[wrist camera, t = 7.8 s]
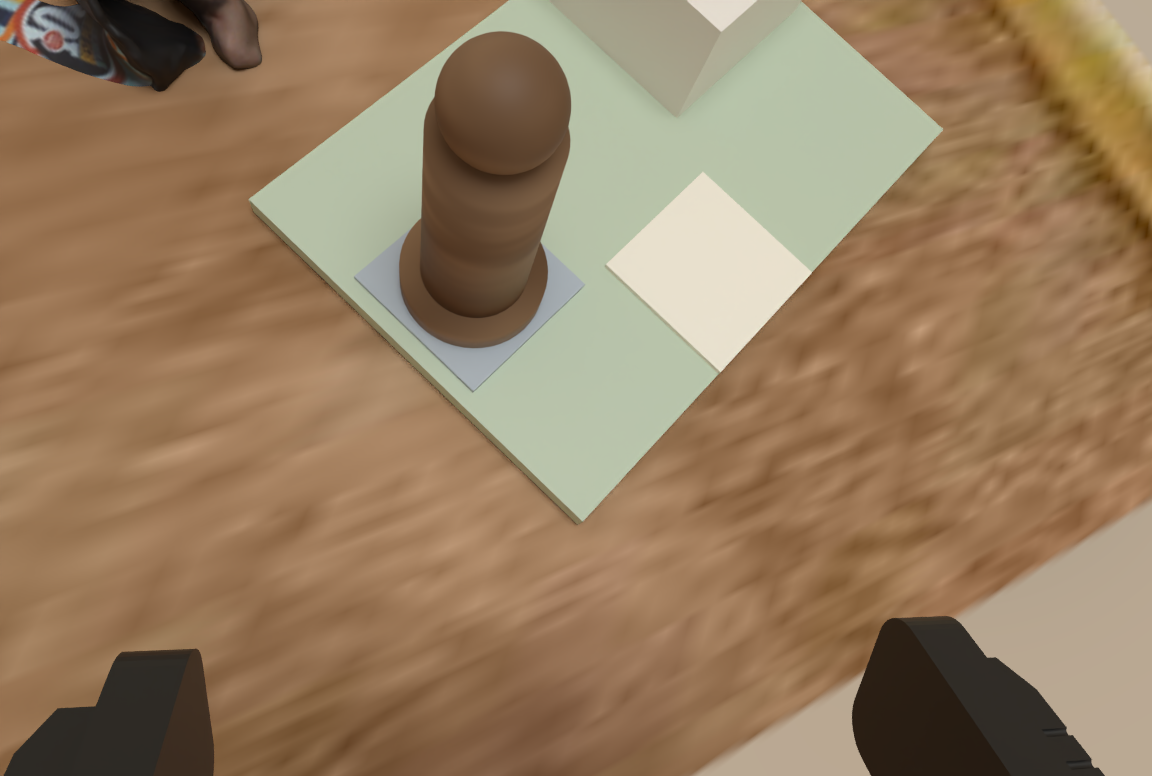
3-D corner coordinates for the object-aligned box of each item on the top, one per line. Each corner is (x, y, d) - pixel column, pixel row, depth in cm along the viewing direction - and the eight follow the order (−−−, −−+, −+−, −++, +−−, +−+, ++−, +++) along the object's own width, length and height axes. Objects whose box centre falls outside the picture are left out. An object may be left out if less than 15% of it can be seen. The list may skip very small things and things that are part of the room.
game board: (253, 211, 27) (247, 196, 26) (660, -103, 33) (667, -125, 32) (577, 524, 26) (583, 521, 25) (930, 140, 32) (946, 126, 31)
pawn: (368, 277, 26) (341, 48, 16) (471, 189, 27) (507, -72, 17) (473, 377, 26) (514, 210, 16) (571, 284, 27) (668, 75, 17)
